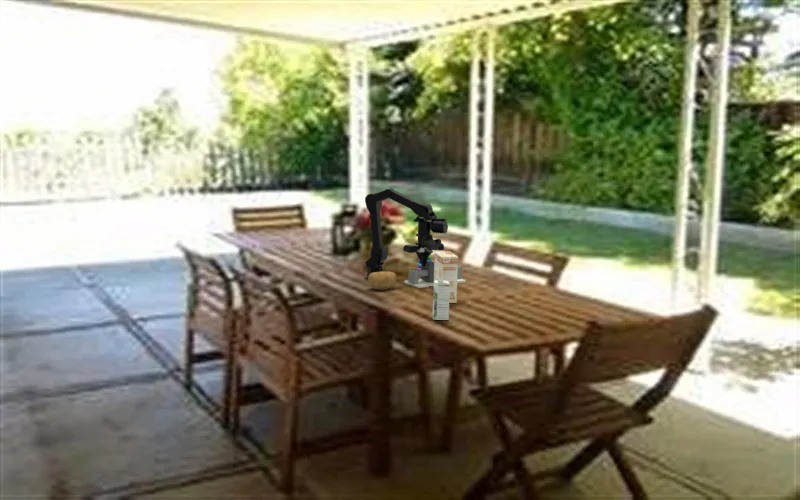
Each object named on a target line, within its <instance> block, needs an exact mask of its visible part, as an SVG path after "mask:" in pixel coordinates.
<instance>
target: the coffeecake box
mask: <svg viewBox="0 0 800 500" xmlns="http://www.w3.org/2000/svg"><path fill="white" fill-rule="evenodd" d="M433 262H434V281H435V280H446V281H449V283H450V300H449V303H458V297H457V296H458V283H457V276H458V266H459V257H458V255H456V254H454V253H453V252H451V251H449V250H446V251H445V250H434V261H433Z"/></svg>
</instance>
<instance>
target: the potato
mask: <svg viewBox="0 0 800 500" xmlns="http://www.w3.org/2000/svg"><path fill="white" fill-rule="evenodd" d="M396 282H397V274H396V273H395V272H393V271H383V272H373V273H371V274H370V275H369V276H368V279H367V283H368V285H369V286H370V288H372V289H375V290H380V291H384V290H388V289H389V288H391V287H392V286H393V285H395V283H396Z"/></svg>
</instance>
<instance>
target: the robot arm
mask: <svg viewBox="0 0 800 500" xmlns="http://www.w3.org/2000/svg"><path fill="white" fill-rule="evenodd" d="M388 199H390V200H392V201H393V202H396V203H398V204H400V205H402V206H404V207H406V208H408V209H410V210H411V211H412V213H414V214H415V215H416V218H415V219H413V222H414V223H415V222H416V223H417V233H415V234H416V235H415V236H416V237H417V242H416V243H415V244H404V245H403V249H402V251H403V252H405V253H409V254H410V253H411V254H412V253H415V254H416V256H417V258H418V260H420V262H421V265H422V266H423V267H425V265H426V262H427V259H428V257H429V255H432V253H433V254H434V253H435V251H445V245H444V243H442V239H440V238H436V239H434V237H433V234H432V233H434V234H444V235H445V234H447V233H448V231H449V225H448V221H447V217H442V218H441V217H440V218H439V217H437V215H436V213H435V212H434V209H433V206H432V205H431V204H430V203H426V202H423V201H419V200H415V199H413V198H411V197H409V196H407V195H405V194H403V193H401V192H399V191H397V190H395V189H394V188H386V189H385V190H382V191H380V192H372V193H368V194H367V195H366V196H365V197H364V201H365V206H366V209H367V211H368V213H369V217H370V218H369V219H370V229H371V231H370V232H371V240H372V243H371V244H372V245H371V249H370V253H369V254H370V255H369V258H368V259H367V260H366V261H365V263H364V264H365V266H366V277H364V278H365V279H367V280H368V276H369V275H370V274H371V273H373V272H384V269H383V266H384V263H385V262H386V260H387V259H388V256H389V253H388V247H389V246H385V245H384V243H383V233H382V220H381V211H382V207H383V201H387V200H388ZM431 232H432V233H431Z"/></svg>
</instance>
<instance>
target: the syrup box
mask: <svg viewBox="0 0 800 500" xmlns="http://www.w3.org/2000/svg"><path fill="white" fill-rule="evenodd" d="M432 294H433V295H432V316H433V317H432V320H433V321H434V320H450V304H449V300H450V283H449V281H446V280H435V281H434V286H433V293H432Z"/></svg>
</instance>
